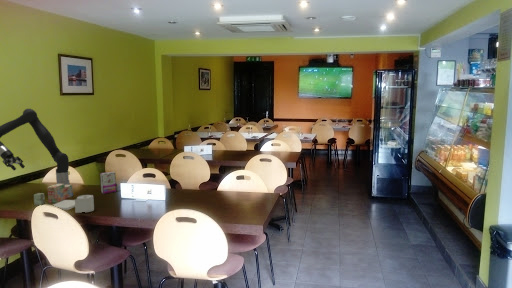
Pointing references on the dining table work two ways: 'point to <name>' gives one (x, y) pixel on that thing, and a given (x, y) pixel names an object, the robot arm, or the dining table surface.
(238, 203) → the dining table surface
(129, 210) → the dining table surface
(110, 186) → the candy bar box
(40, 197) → the sage block
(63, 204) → the cutting board
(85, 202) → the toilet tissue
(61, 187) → the colorful patterned box
